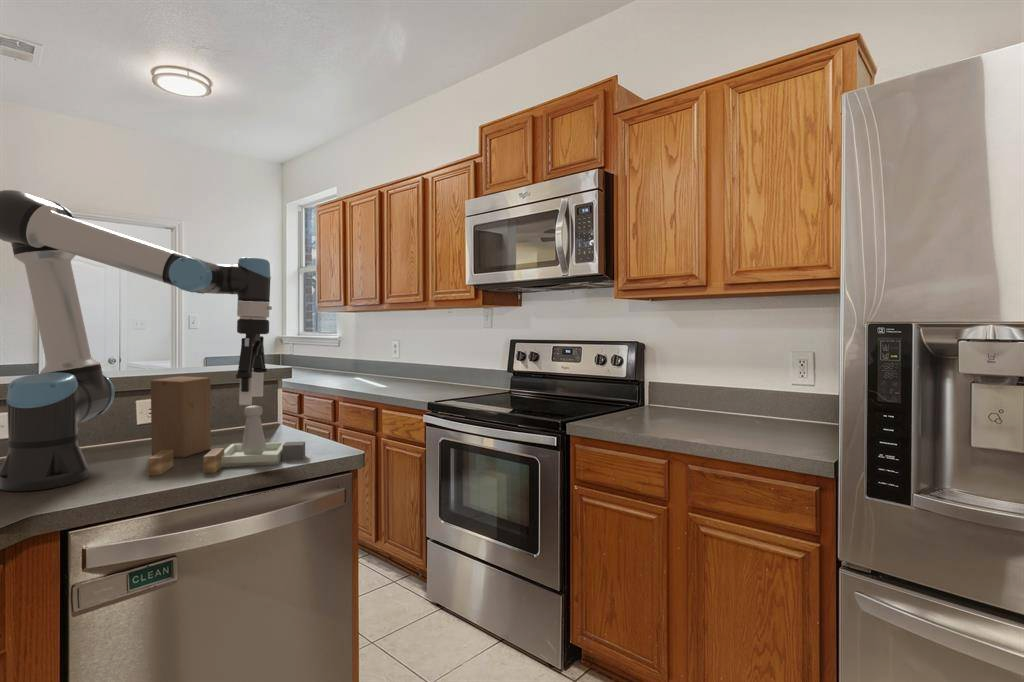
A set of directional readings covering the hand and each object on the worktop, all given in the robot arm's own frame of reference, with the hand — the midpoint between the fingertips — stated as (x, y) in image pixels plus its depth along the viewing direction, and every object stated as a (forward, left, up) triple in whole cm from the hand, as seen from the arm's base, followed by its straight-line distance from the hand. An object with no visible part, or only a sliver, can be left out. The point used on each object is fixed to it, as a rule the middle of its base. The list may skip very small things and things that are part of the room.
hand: (251, 400), depth 143 cm
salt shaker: (0, 0, -15) cm, 15 cm away
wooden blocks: (-13, -8, -15) cm, 21 cm away
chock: (+10, -1, -15) cm, 19 cm away
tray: (0, 0, -15) cm, 15 cm away
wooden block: (-20, +10, -16) cm, 27 cm away
